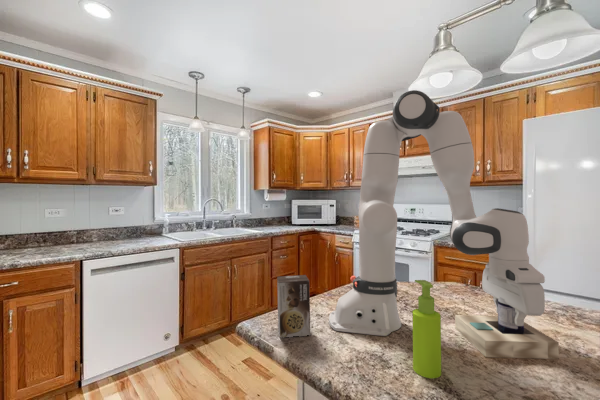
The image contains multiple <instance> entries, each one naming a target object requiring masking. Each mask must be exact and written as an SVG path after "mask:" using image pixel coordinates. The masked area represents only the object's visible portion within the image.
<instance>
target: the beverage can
mask: <svg viewBox="0 0 600 400" xmlns="http://www.w3.org/2000/svg"><path fill="white" fill-rule="evenodd" d="M504 300H505V299H503V298H501V297H500V298H499V299H498V313H497V316H498V331H500V332H501V333H502V334H524V325H523V326H517V325H516V324H514V323H513V317H515V316H516V314H517V313H516V312H515V308H513V307H512V306H510V305H508V304H507V303H506V302H505V301H504Z"/></svg>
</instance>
